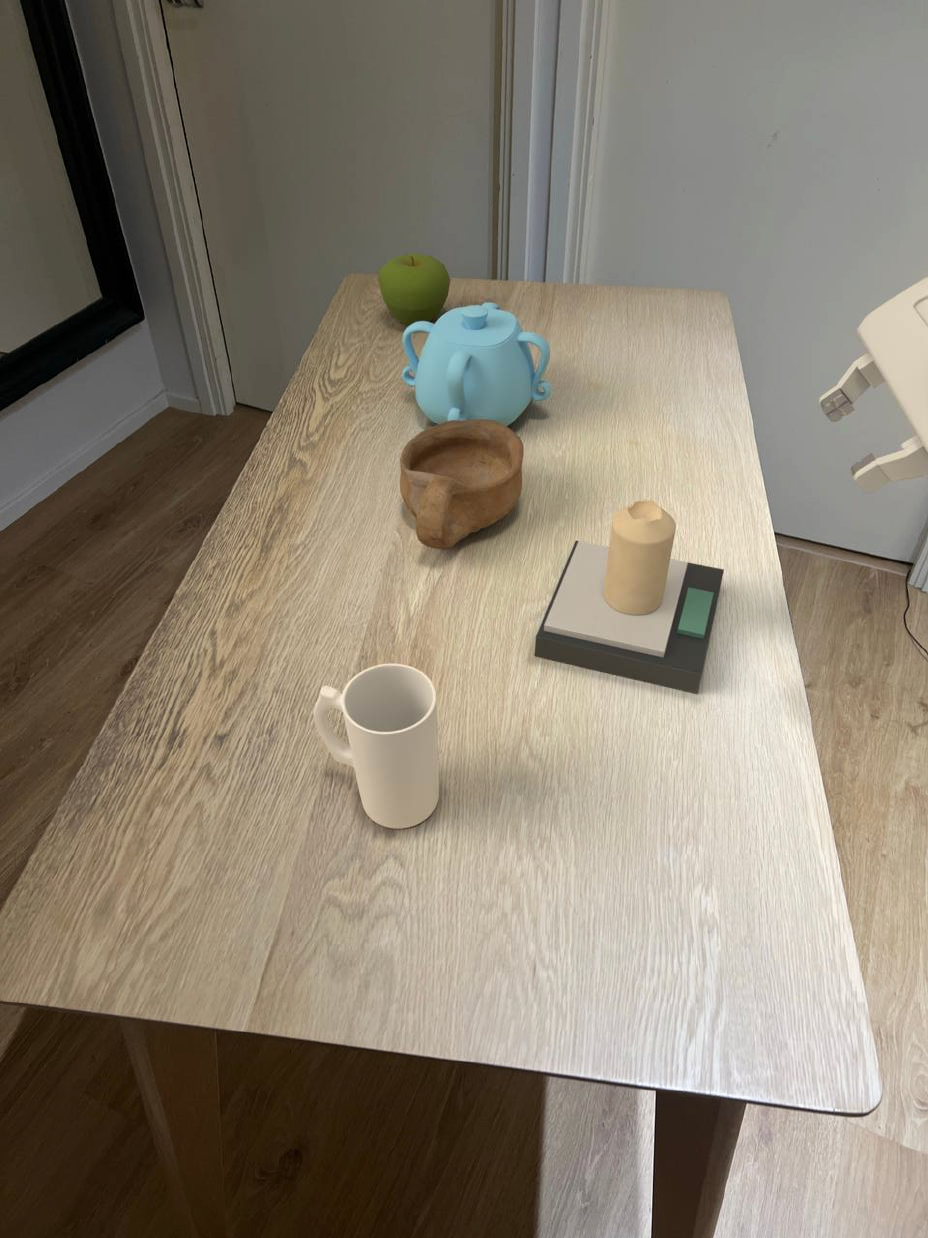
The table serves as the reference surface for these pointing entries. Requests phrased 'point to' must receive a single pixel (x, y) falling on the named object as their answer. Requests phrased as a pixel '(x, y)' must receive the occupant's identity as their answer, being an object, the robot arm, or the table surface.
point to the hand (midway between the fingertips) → (839, 445)
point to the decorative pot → (475, 366)
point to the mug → (387, 741)
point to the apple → (414, 287)
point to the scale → (631, 623)
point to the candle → (639, 558)
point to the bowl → (460, 478)
